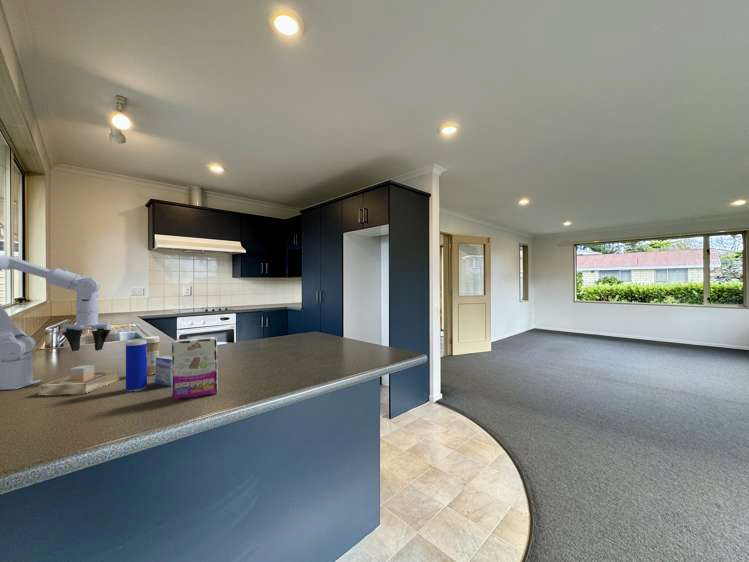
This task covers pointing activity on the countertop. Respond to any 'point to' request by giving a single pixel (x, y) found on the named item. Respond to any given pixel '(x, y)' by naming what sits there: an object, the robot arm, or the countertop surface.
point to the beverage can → (136, 365)
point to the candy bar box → (194, 367)
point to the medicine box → (164, 370)
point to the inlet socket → (80, 381)
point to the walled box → (77, 385)
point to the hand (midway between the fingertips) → (87, 350)
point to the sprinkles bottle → (152, 353)
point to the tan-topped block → (82, 373)
